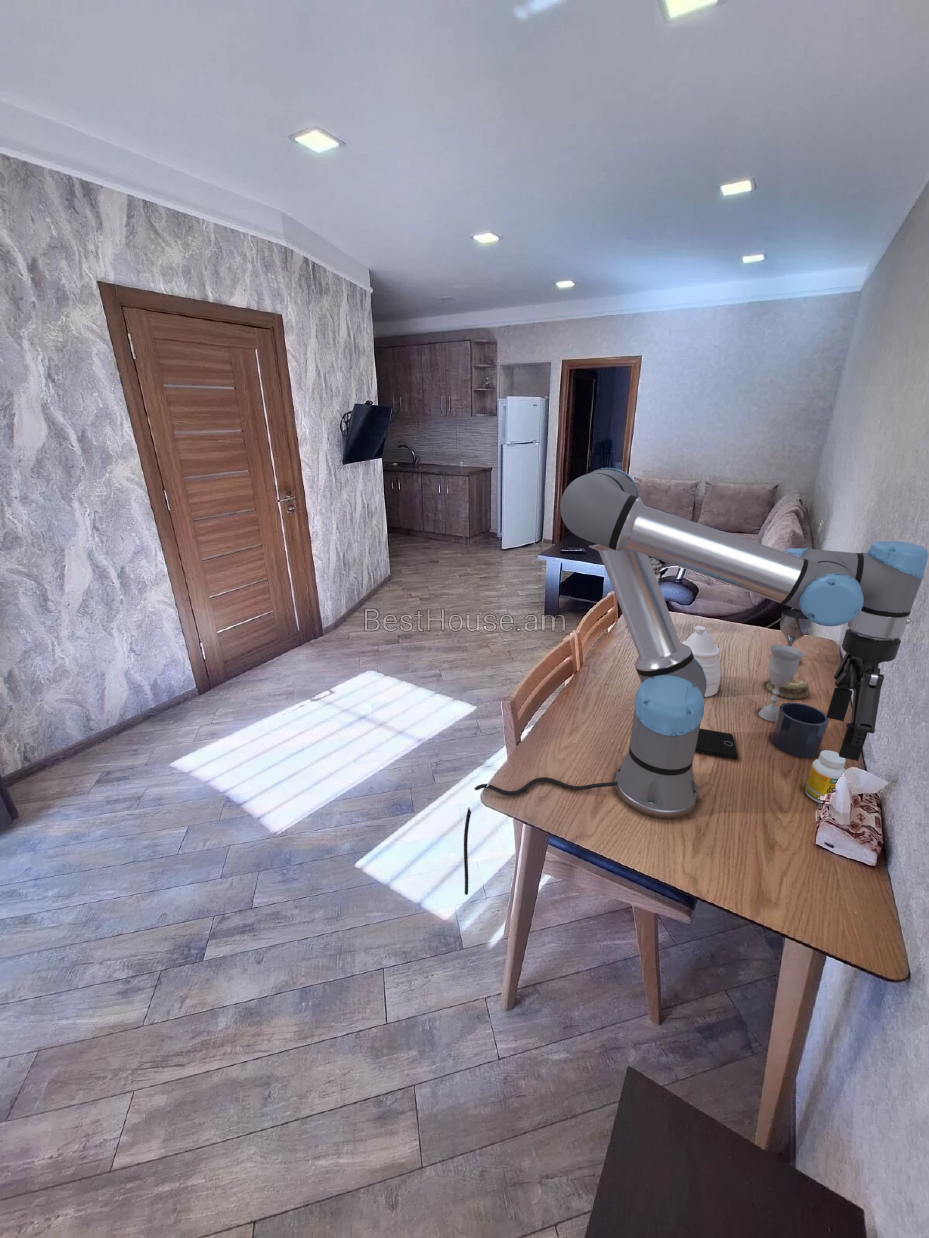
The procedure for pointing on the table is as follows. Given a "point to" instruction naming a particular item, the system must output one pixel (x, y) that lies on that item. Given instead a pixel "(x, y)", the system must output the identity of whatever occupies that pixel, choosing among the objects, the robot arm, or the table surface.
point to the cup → (799, 729)
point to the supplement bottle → (824, 774)
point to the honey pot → (706, 657)
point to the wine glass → (794, 625)
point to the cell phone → (716, 743)
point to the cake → (791, 689)
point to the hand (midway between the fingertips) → (841, 737)
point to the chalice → (780, 674)
